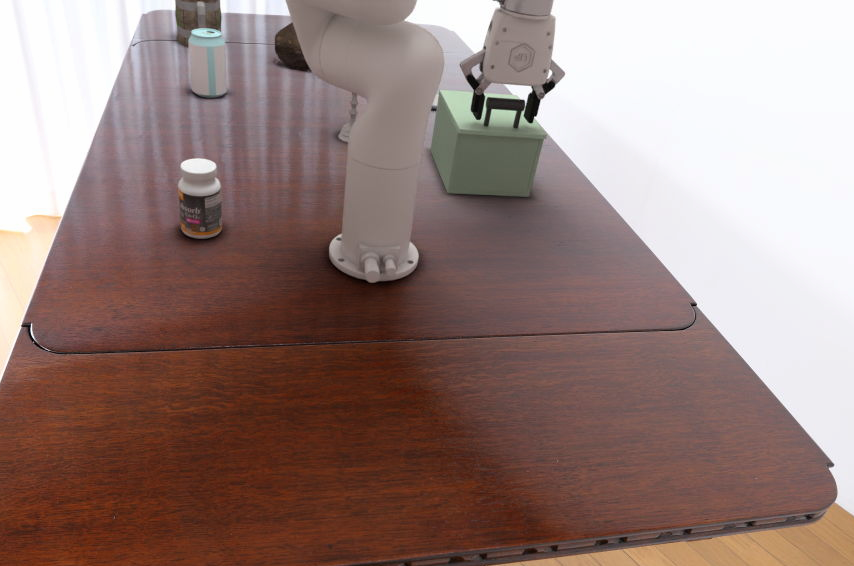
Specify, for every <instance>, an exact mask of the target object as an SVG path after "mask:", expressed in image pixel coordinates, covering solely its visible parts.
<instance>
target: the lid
mask: <svg viewBox="0 0 854 566" xmlns="http://www.w3.org/2000/svg"><path fill="white" fill-rule="evenodd" d="M473 92H474V91H463V90H451V89H449V90H448V89H439V92H438V94H439V95H440V97H441V99H442V101H443V103H444V105H445V107H446V109H447V111H448V113H449V115H450V117H451V119H452V121H453V123H454V125H455V126H456V128H457V130H458V132H459V134H472V135H488V136H505V137H521V138H537V139H544V140H546V139H547V137H548V134H547V132H546V131H545V130H544V129H543V127H542V126H541V124H540V123H539V122H538V121H537V119H536V117H534V120H533V123H528V122H527V120H526V119H525V118H524V111H525V107H526V100H525V99H522V98H520V97H519V95H517V94H505V93H503V94H502V93H489V92H484V95H485V102H484V107H483V112H482V117H481V119H480V120H476V118H475V117H474V115H473V113H472V112H471V103H472V97H473Z"/></svg>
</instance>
